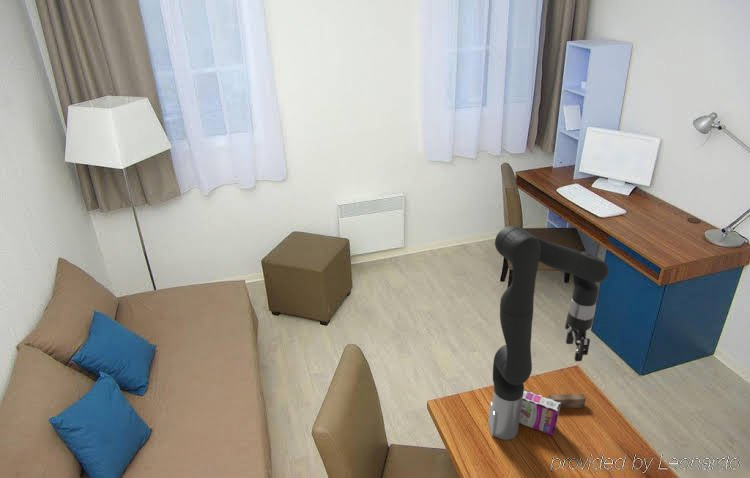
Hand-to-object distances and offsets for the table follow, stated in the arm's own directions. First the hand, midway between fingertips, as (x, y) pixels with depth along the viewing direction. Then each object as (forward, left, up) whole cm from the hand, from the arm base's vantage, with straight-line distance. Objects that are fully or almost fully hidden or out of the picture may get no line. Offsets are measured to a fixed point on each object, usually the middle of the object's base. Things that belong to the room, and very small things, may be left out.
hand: (573, 351), depth 173 cm
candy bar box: (-6, -11, -19) cm, 23 cm away
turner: (-2, 0, -24) cm, 24 cm away
